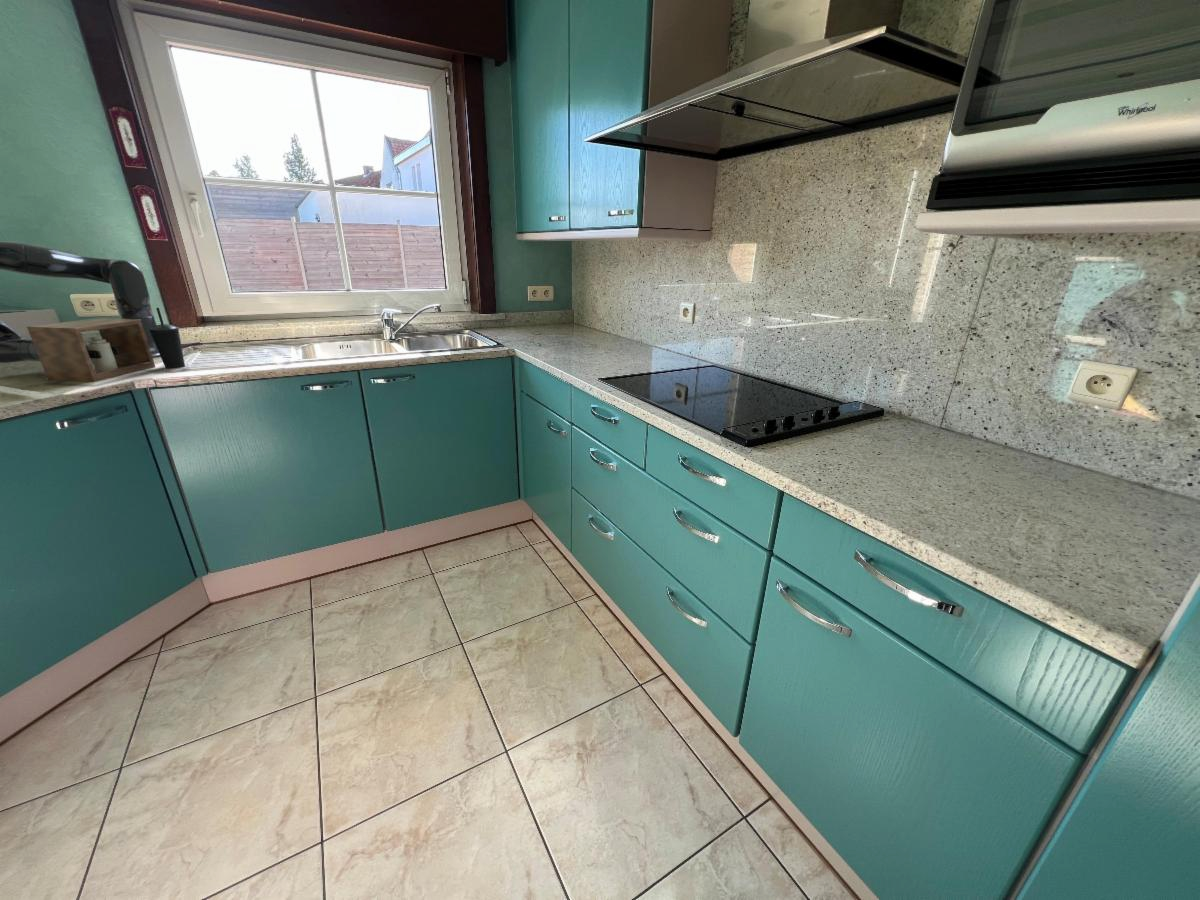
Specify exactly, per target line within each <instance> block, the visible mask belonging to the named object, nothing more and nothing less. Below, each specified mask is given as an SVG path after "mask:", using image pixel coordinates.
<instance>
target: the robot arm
mask: <svg viewBox="0 0 1200 900" xmlns="http://www.w3.org/2000/svg"><path fill="white" fill-rule="evenodd" d="M0 271H4V272H10V273H11V272H12V273H16V274H17V273H18V274H23V275H31V276H38V277H45V278H46V277H48V278H60V279H83V280H90V281H94V282H95V281H96V282H100V283H104V284H110V286H111V289H112V292H113V296H114V305H115V307H116V310H117V313H118V316H119V319H138V320H141V323H142V326H143V329H144V332H145V335H146V338H147V342H148V345H149V348H150V351H151V354H152V357H153V358H157V357H161V356H160V354H159V352H158V349H157V347H156V345H155V342H154V340H153V338H152V335H151V333H150V331H148V329H149V328H151V327H153V326H156V325H158V324H157V321H156V318H155V315H154V311H153V308H152V305H151V298H150V293H149V290H148V285H147V281H146V278H145V275H144V273H143V271H142V269H141V268H140V267H139V266H138V265H137V264H135V263H133V262H132V261H128V260H125V259H117V258H116V259H111V258H99V257H90V256H83V255H78V254H74V253H70V252H68V251H63V250H59V249H54V248H52V247H51V248H50V247H47V246H46V247H45V246H41V245H37V244H30V243H23V242H17V241H6V240H0ZM200 344H201V342H200V341H197V342H191V343H186V344H181V347H182V348H185V347H190V346H196V345H200ZM85 346H86V343H85ZM111 348H112V351H113V354H114V355H119V354H120V350H119V348H118V347H112V345H111ZM86 349H87V346H86ZM87 352H88V354H89V357H90V359H91V358H98V359H99V358H102V356H101V353H100V351H92V350H88V349H87ZM18 362H19V363H20V362H41V361H40V359H39V356H38V354H37V351H36V349H35V346H34V344H33V341H32V339H31V337H23V336H22V335H21V334H19V333H18V332H17V331H16V330H14V329H13V328H11V327H10V326H9V325H8V324H6V323H5V322H4V321H3V320H2V319H0V364H5V363H8V364H9V363H18Z"/></svg>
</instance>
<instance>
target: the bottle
mask: <svg viewBox="0 0 1200 900" xmlns="http://www.w3.org/2000/svg"><path fill="white" fill-rule="evenodd" d="M85 344H86V346H87V349H88V350H92V351H100V353H101V356H102V358H99V359H98V358H90V360H91V363H92V365H93V368H94V370H95V371H96V373H98V372H103V371H107V370H112V369H116V368H118V366H117V363H116V360H115V357H114V354H113V351H112V348H111V345H110V342H106V339H102V337H101V336H100V335H90V336H89V339H87V341H86V343H85Z"/></svg>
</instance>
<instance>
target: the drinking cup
mask: <svg viewBox="0 0 1200 900" xmlns="http://www.w3.org/2000/svg"><path fill="white" fill-rule="evenodd" d="M155 309H156V313H157V316H158V319H159V322H160V324H157V325H156V326H153V327H151V328H149V329H148V331H150V333H151V335H152V338H153V340H154V342H155V345H156V347H157V349H158V352H159V354H160V356H159V357H160V359H161V360H162V363H163V366H164V368H165V369H169V370H170V369H181V368H184V367H186V363H185V357H184V353H183V347H181V346H182V343H181V336H180V331H179V330H180V327H179V326H176V325H175V326H174V325H173V324H168V323H167V324H166V323H164V320H163V317H162V314H161V310H160V307H156V308H155Z"/></svg>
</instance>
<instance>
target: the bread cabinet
mask: <svg viewBox="0 0 1200 900" xmlns="http://www.w3.org/2000/svg"><path fill="white" fill-rule="evenodd" d="M26 328H27V331H28V333H29V336H30V338H31V339H32V341H33V344H34V346H35V349H36V351H37V354H38V356H39V359H40V361H39V362H40V363H41V366H42V368H43V371H44V373H45V376H46V378H47V380H48V381H61V382H62V381H63V382H86V383H87V382H89V383H95V382H99V381H103V380H108V379H112V378H117V377H120V376H121V377H122V376H125V375H129V374H134V373H137V372H140V371H146V370H151V369H154V368H156V364H155V361H154V357H152V354H151V351H150V348H149V345H148V342H147V338H146V335H145V332H144V329H143V326H142V323H141V320H138V319H120V318H106V317H104V318H103V317H95V318H86V319H79V320H71V321H61V322H54V323H45V324H37V325H29V326H26ZM90 331H98V332H99V336H101V337H102V339H106V342H110V345H112V347H118V348H119V350H120V354H119V355H114V357H115V360H116V363H117V366H118V368H116V369H112V370H107V371H103V372H98V373H96V371H95V368H94V366H93V363H92V360H91V358H90V357H89V354H88V352H87V349H86V346H85V344H86V343H85V340H84V338H83V335H82V333H84V332H90Z"/></svg>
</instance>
